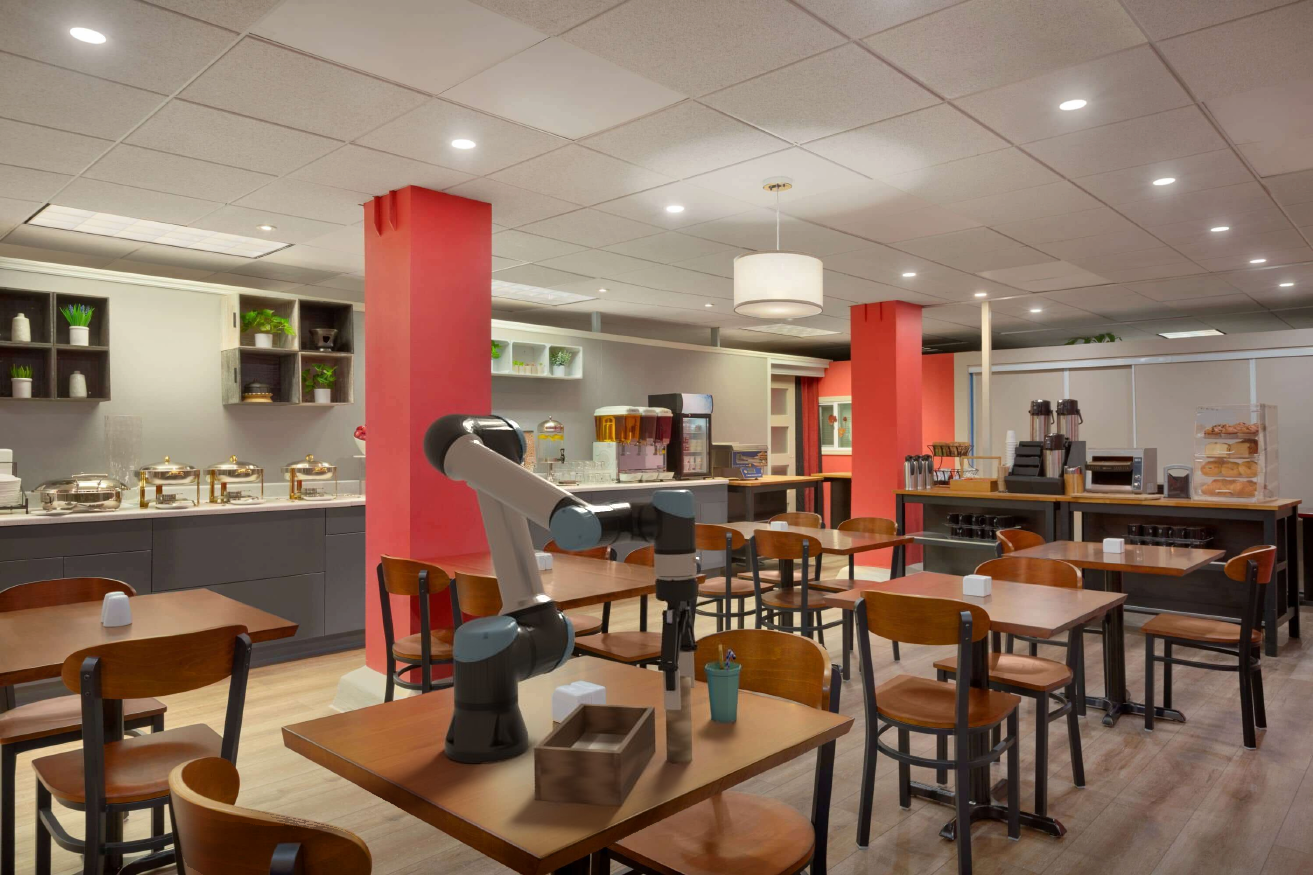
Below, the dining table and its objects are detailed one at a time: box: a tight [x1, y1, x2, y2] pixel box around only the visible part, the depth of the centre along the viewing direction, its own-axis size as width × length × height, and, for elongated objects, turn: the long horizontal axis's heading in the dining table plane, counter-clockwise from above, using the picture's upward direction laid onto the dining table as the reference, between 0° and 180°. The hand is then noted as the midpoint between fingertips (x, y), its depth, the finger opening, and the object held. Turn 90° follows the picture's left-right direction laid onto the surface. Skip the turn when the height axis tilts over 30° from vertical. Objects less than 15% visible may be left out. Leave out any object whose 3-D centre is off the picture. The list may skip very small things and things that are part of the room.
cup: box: [704, 644, 742, 724], centre depth 167 cm, size 14×8×15 cm, turn 12°
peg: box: [665, 676, 693, 765], centre depth 146 cm, size 4×4×14 cm
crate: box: [533, 702, 657, 807], centre depth 140 cm, size 14×24×8 cm, turn 167°
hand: (680, 697), depth 146 cm, fingers open, 13 cm apart
